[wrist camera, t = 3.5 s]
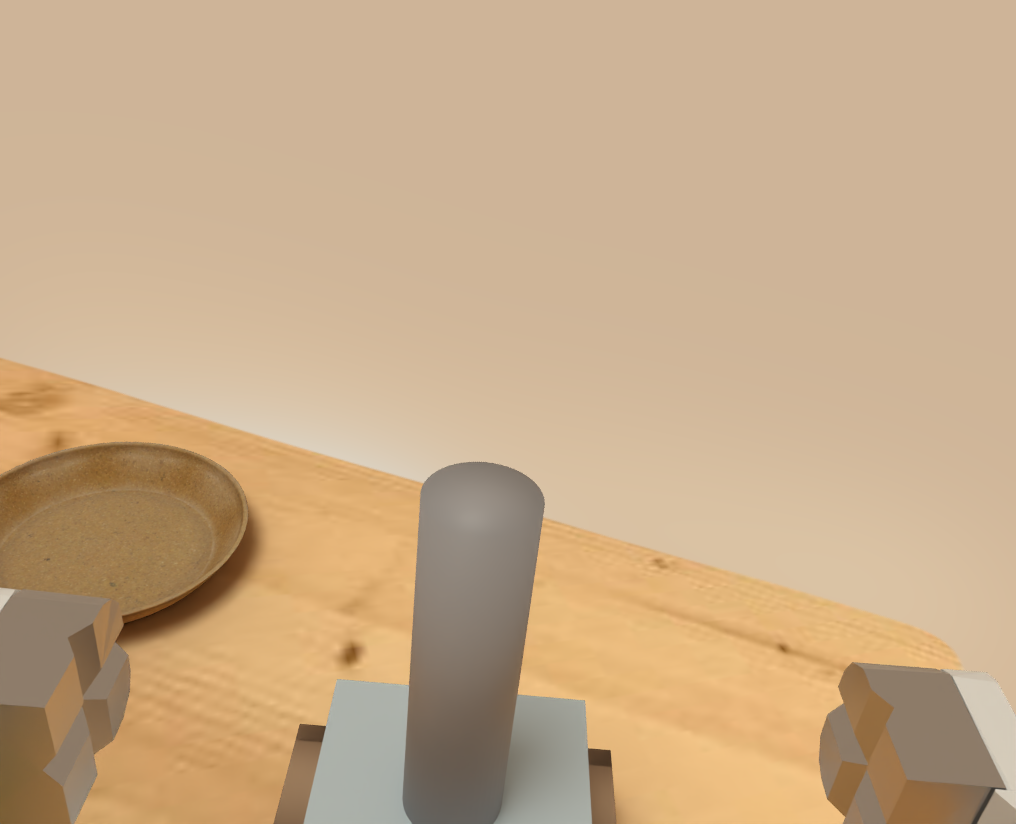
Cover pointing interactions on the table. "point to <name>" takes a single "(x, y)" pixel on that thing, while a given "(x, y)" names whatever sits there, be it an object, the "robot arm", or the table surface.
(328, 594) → the table surface
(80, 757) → the robot arm
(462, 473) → the gray post-topped cube
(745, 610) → the table surface
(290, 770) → the bay
